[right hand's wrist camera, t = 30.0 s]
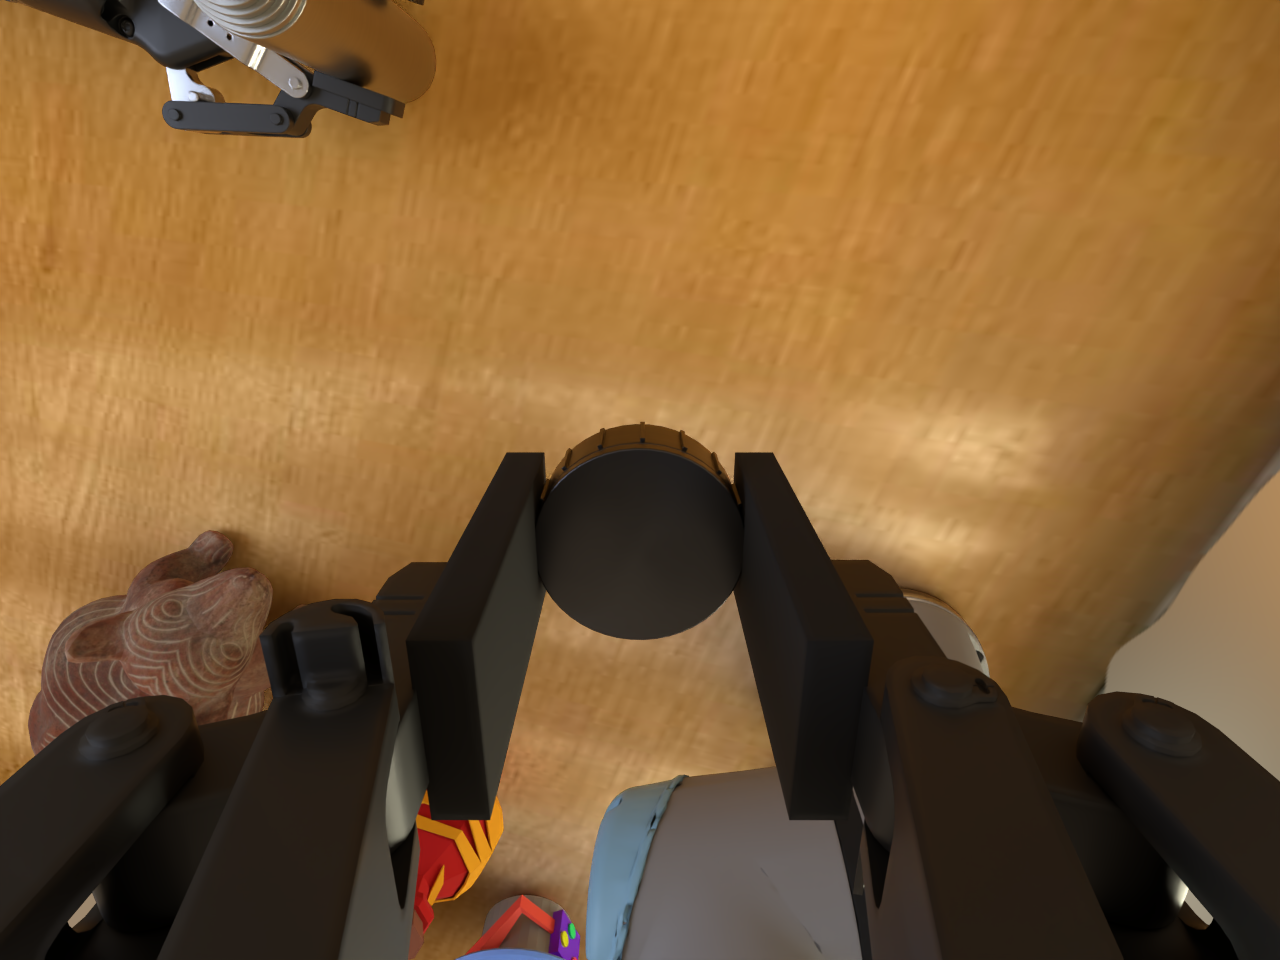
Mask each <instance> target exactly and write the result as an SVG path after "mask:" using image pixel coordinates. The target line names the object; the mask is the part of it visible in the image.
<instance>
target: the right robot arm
mask: <svg viewBox="0 0 1280 960" xmlns="http://www.w3.org/2000/svg"><path fill="white" fill-rule="evenodd" d="M545 482H546V475H545V456H544V453H506V455H505V457H504V459H503V461H502V462H501V464H500V466H499V468H498V470H497V472H496V474H495V475H494V477H493V479H492V481H491V483H490V485H489V487H488V488H487V490H486V492H485V494H484V496H483V498H482V499H481V501H480V503H479V505H478V507H477V509H476V511H475V512H474V514H473V516H472V518H471V520H470V522H469V524H468V525H467V527H466V529H465V531H464V533H463V535H462V537H461V538H460V540H459V542H458V544H457V546H456V548H455V550H454V551H453V553H452V555H451V557H450V559H449V561H448V562H411V563H410V564H409V565H407V566H406V567H404V568H403V569H401V570H400V571H398V572H397V573H395V574H394V575H392V576H391V577H389V578H388V580H387V581H386V582H385V584H384V585H383V587H382V588H381V590H380V591H379V593H378V594H377V596H376V600H373V602H372V603H370V602H366V601H362V600H358V599H332V600H327V601H322V602H316V603H311V604H308V605H306V606H303V607H300V608H298V609H295V610H292V611H289V612H288V613H286V614H284V615H283V616H281V617H279V618H278V619H276V620H275V621H273V622H271V623H270V624H269V625H268V626H267V628H266V629H265V630H264V631H263V632H262V633H261V634H260V635H259V638H260V643H261V647H262V651H263V655H264V660H265V664H266V668H267V673H268V677H269V681H270V685H271V690H272V694H273V699H272V702H271V704H270V706H269V708H268V710H266V711H262V712H258V713H255V714H251V715H247V716H242V717H237V718H232V719H228V720H223V721H218V722H213V723H208V724H204V725H199V726H198V725H197V722H196V718H195V715H194V711H193V708H192V706H190V705H189V704H188V703H187V702H186V701H185V700H184V699H182V698H178V697H173V696H168V695H155V696H144V697H137V698H132V699H128V700H127V701H121V702H117V703H114V704H111V705H109V706H107V707H106V708H104V709H101V710H99V711H97V712H95V713H93V714H91V715H88V716H86V717H84V718H83V719H81V720H80V721H78V722H77V723H76V724H74V725H73V726H71V727H70V728H68V729H67V730H65V731H64V732H63V733H61V734H60V735H59V736H58V737H57V738H55V739H54V740H53V741H52V742H51V743H50V744H48V745H47V746H46V747H45V748H44V749H43V750H41V751H40V752H39V753H38V754H37V755H36V756H34V757H33V758H32V759H31V760H30V761H29V762H27V763H26V764H25V765H24V766H23V767H22V768H20V769H19V770H18V771H17V772H16V773H15V774H14V775H12V776H11V777H10V778H9V779H8V780H7V781H5V782H4V783H3V784H2V785H1V786H0V960H408V954H409V945H410V936H411V927H412V918H413V909H414V900H415V891H416V882H417V873H418V864H419V856H420V845H419V837H418V831H417V824H416V817H417V814H418V812H419V809H420V806H421V803H422V801H423V798H424V795H425V792H426V790H427V794H428V800H429V807H430V814H431V820H490V819H491V815H492V811H493V807H494V803H495V799H496V794H497V790H498V786H499V782H500V778H501V774H502V770H503V766H504V762H505V757H506V753H507V749H508V745H509V741H510V737H511V733H512V729H513V725H514V720H515V716H516V712H517V708H518V704H519V700H520V696H521V692H522V687H523V683H524V679H525V675H526V671H527V667H528V663H529V659H530V655H531V650H532V646H533V642H534V638H535V634H536V630H537V626H538V622H539V618H540V613H541V609H542V605H543V601H544V597H545V593H546V589H545V587H544V585H543V583H542V581H541V579H540V577H539V574H538V568H537V552H536V536H535V523H536V519H537V515H538V512H539V509H540V506H541V503H540V502H539V499H540V497H541V494H542V491H543V488H544V485H545ZM734 483H735V486H736V489H737V492H738V495H739V497H740V500H741V503H742V507H741V508H740V511H741V514H742V517H743V520H744V545H743V561H742V573H741V576H740V578H739V581H738V583H737V584H736V586H735V588H734V590H733V591H734V595H735V599H736V603H737V607H738V611H739V615H740V619H741V623H742V628H743V632H744V636H745V640H746V644H747V648H748V652H749V656H750V661H751V665H752V669H753V673H754V677H755V681H756V685H757V689H758V693H759V698H760V702H761V706H762V710H763V714H764V718H765V722H766V726H767V730H768V735H769V739H770V743H771V747H772V751H773V755H774V759H775V763H776V766H775V767H768V768H760V769H753V770H745V771H737V772H728V773H719V774H710V775H701V776H692V777H689V776H687V775H679V776H677V777H675V778H674V779H672V780H668V781H663V782H659V783H654V784H648V785H642V786H636V787H632V788H629V789H627V790H625V791H623V792H621V793H620V794H619V795H617V796H616V797H615V799H614V800H613V801H612V802H611V804H610V805H609V806H608V808H607V810H606V813H605V815H604V818H603V819H602V822H601V824H600V828H599V831H598V835H597V839H596V843H595V848H594V853H593V859H592V865H591V872H590V880H589V890H588V902H587V919H586V956H587V959H588V960H1280V781H1278V780H1277V779H1276V778H1275V777H1274V776H1273V775H1271V774H1270V773H1269V772H1268V771H1267V770H1266V769H1264V768H1263V767H1262V766H1261V765H1260V764H1259V763H1257V762H1256V761H1255V760H1254V759H1253V758H1251V757H1250V756H1249V755H1248V754H1247V753H1246V752H1245V751H1243V750H1242V749H1241V748H1240V747H1239V746H1237V745H1236V744H1235V743H1234V742H1233V741H1232V740H1230V739H1229V738H1228V737H1227V736H1226V735H1225V734H1223V733H1222V732H1221V731H1220V730H1219V729H1217V728H1216V727H1214V726H1213V725H1211V724H1210V723H1208V722H1207V721H1206V720H1204V719H1203V718H1201V717H1200V716H1198V715H1197V714H1195V713H1193V712H1191V711H1188V710H1186V709H1184V708H1182V707H1180V706H1178V705H1175V704H1174V703H1172V702H1170V701H1167V700H1164V699H1161V698H1154V696H1149V695H1144V694H1138V693H1127V692H1112V693H1107V694H1101V695H1098V696H1097V697H1095V698H1094V699H1093V700H1092V701H1091V702H1090V703H1088V706H1087V709H1086V713H1085V716H1084V720H1083V723H1082V722H1077V721H1072V720H1067V719H1062V718H1057V717H1053V716H1048V715H1043V714H1038V713H1033V712H1029V711H1025V710H1022V709H1018V708H1014V707H1011V705H1010V703H1009V700H1008V698H1007V696H1006V695H1005V694H1004V692H1003V691H1002V690H1001V688H1000V687H999V686H998V684H997V683H996V682H995V681H993V680H992V679H991V678H989V669H988V665H987V660H986V657H985V654H984V652H983V649H982V647H981V644H980V642H979V640H978V639H977V637H976V635H975V634H974V633H973V631H972V630H971V629H970V627H969V626H968V625H967V623H966V622H965V621H964V620H963V618H962V617H961V616H960V615H959V614H958V613H957V612H956V611H955V610H954V609H953V608H951V607H950V606H949V605H947V604H946V603H944V602H943V601H941V600H939V599H937V598H935V597H933V596H931V595H928V594H926V593H923V592H919V591H915V590H911V589H904V588H899V586H898V585H897V583H896V582H895V580H894V579H893V577H892V576H891V575H890V574H888V573H887V572H885V571H884V570H882V569H881V568H879V567H878V566H876V565H875V564H873V563H872V562H870V561H869V560H830V558H829V556H828V554H827V552H826V550H825V549H824V547H823V545H822V543H821V541H820V539H819V538H818V536H817V534H816V532H815V530H814V528H813V526H812V525H811V523H810V521H809V519H808V517H807V515H806V513H805V512H804V510H803V508H802V506H801V504H800V502H799V500H798V499H797V497H796V495H795V493H794V491H793V489H792V487H791V486H790V484H789V482H788V480H787V478H786V476H785V474H784V473H783V471H782V469H781V467H780V465H779V463H778V461H777V460H776V458H775V456H774V454H773V453H735V466H734ZM1188 889H1189V890H1190V891H1191V892H1192V893H1193V894H1194V896H1195V897H1196V898H1197V899H1198V900H1199V901H1200V903H1201V904H1202V905H1203V906H1204V907H1205V908H1206V910H1207V911H1208V912H1209V913H1210V914H1211V915H1212V917H1213V920H1212V923H1211V924H1210V925H1207V924H1206V923H1205V922H1204V921H1202V920H1201V919H1200V918H1199V917H1198V916H1197V915H1196V914H1195V913H1194V911H1193V910H1192V909H1191V908H1190V907H1189V905H1188V904H1187V903H1186V902H1185V901H1184V899H1185V897H1186V894H1187V892H1188ZM91 893H93V896H94V898H95V901H96V904H95V905H94V907H93V908H92V909H91V910H90V911H89V913H88V914H87V915H86V916H85V917H84V918H83V919H82V920H81V921H80V922H79V923H77V924H76V925H75V926H74V927H73V928H71V927H70V926H69V924H68V922H67V921H68V920H69V919H70V918H71V917H72V915H73V914H74V913H75V912H76V911H77V910H78V908H79V907H80V906H81V905H82V904H83V903H84V901H85V900H86V899H87V898H88V897H89V895H90V894H91Z"/></svg>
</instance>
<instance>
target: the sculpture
mask: <svg viewBox="0 0 1280 960" xmlns="http://www.w3.org/2000/svg"><path fill="white" fill-rule="evenodd" d="M232 553H233V545H232V542H231V541H230V540H229V539H228V538H227V537H226V536H224V535H223V534H221V533H219V532H217V531H210V530H209V531H207V532H204V533H202V534H201V535H199V536H198V538H197V539H196V540H195V541H194V542H193V543H192V544H191V545H190V547H189V548H187V549H184V550H181V551H178V552H175V553H172V554H170V555H167V556H165V557H162V558H160V559H158V560H156V561H154V562H152V563H150V564H149V565H148V566H146V567H145V568H144V569H143V570H141V571H140V572H139V574H138V575H137V576H136V577H135V578H134V580H133V582H132V584H131V586H130V588H129V590H128V593H127V595H118V596H112V597H107V598H102V599H99V600H96V601H93V602H91V603H89V604H87V605H85V606H83V607H81V608H79V609H78V610H76V611H74V612H73V613H72V614H71V615H69V616H68V617H67V618H66V619H65V620H64V621H63V622H62V623H61V624H60V626H59V627H58V628H57V630H56V631H55V632H54V634H53V635H52V638H51V640H50V642H49V645H48V648H47V651H46V655H45V658H44V662H43V667H42V678H41V691H40V692H39V693H38V695H37V696H36V698H35V700H34V702H33V705H32V707H31V710H30V715H29V721H28V728H29V734H30V740H31V745H32V749H33V751H34V754H35V756H36V755H37V754H38V753H39V752H40V751H41V750H43V749H44V748H45V747H46V746H47V745H48V744H50V743H51V742H52V741H53V740H54V739H55V738H57V737H58V736H59V735H60V734H61V733H63V732H64V731H65V730H67V729H68V728H70V727H71V726H73V725H74V724H76V723H77V722H78V721H80V720H81V719H83V718H84V717H86V716H88V715H91V714H93V713H95V712H97V711H99V710H101V709H104V708H106V707H107V706H109V705H111V704H114V703H117V702H121V701H127V700H128V699H132V698H137V697H144V696H155V695H168V696H173V697H178V698H182V699H184V700H185V701H186V702H187V703H188V704H189V705H190V706H192V708H193V711H194V715H195V718H196V722H197V725H198V726H199V725H204V724H208V723H213V722H218V721H223V720H228V719H232V718H237V717H242V716H247V715H251V714H255V713H258V712H262V709H263V706H264V690H265V689H268V688H270V687H271V685H270V681H269V677H268V673H267V668H266V664H265V660H264V655H263V651H262V647H261V643H260V638H259V635H260V634H261V633H262V632H263V631H264V630H263V627H264V625H265V623H266V620H267V617H268V614H269V611H270V608H271V603H272V597H273V588H272V585H271V583H270V581H269V580H268V579H267V578H266V576H265V575H264V574H261V573H260V572H258V571H257V570H256V569H253V568H234V569H231V570H227V571H224V572H221V573H219V572H220V570H221V569H222V568H223V567H224V566H225V565H226V563H227V562H228V560H229V559H230V557H231V555H232ZM218 573H219V574H218ZM303 606H306V605H303V604H301V605H299V606H297V607H296V608H294V609H293V610H295V609H298V608H300V607H303Z"/></svg>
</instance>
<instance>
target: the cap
mask: <svg viewBox="0 0 1280 960" xmlns="http://www.w3.org/2000/svg"><path fill="white" fill-rule="evenodd" d="M539 502H540V503H541V506H540V509H539V512H538V515H537V519H536V523H535V536H536V552H537V568H538V574H539V577H540V579H541V581H542V583H543V585H544V587H545V589H546V590H547V592H548V593H549V595H550V596H551V598H552V599H553V600H554V602H555V603H556V604H557V605H558V606H559V607H560V608H561V609H562V610H563V611H564V612H565V613H566V614H568V615H569V616H570V617H571V618H573V619H574V620H576V621H577V622H579V623H580V624H582V625H584V626H586V627H588V628H590V629H591V630H594V631H596V632H599V633H602V634H604V635H608V636H612V637H616V638H623V639H630V640H648V639H658V638H663V637H668V636H671V635H675V634H678V633H681V632H683V631H686V630H688V629H690V628H692V627H694V626H696V625H697V624H699V623H701V622H702V621H704V620H706V619H707V618H708V617H709V616H711V615H712V614H713V613H714V612H716V611H717V610H718V609H719V608H720V606H721V605H722V604H723V603H724V602H725V601H726V600H727V598H728V597H729V596H730V594H731V593H732V591H733V590H734V588H735V586H736V584H737V583H738V581H739V578H740V576H741V573H742V561H743V545H744V520H743V517H742V514H741V511H740V508H741V507H742V503H741V500H740V497H739V495H738V492H737V489H736V486H735V483H734V484H731V482H730V479H729V477H728V475H727V473H726V471H725V470H724V468H723V467H722V465H721V464H720V463H719V461H718V458H717V455H716V453H715V452H713V453H711V452H710V451H709V450H708V449H706V448H705V447H704V446H703V445H701V444H700V443H699V442H697V441H696V440H694V439H692V438H691V437H689V436H687V435H685V432H684V431H682V430H680V432H678V431H676V430H672V429H669V428H665V427H662V426H655V425H645V422H640V424H633V425H623V426H619V427H614V428H610V429H607V430H605V429H604V428H602V429H600V432H599V433H597V434H595V435H593V436H591V437H589V438H587V439H585V440H584V441H582V442H581V443H580V444H578V445H577V446H575V447H574V448H573V449H572V450H571V449H570V448H569V449H568V450H567V451H566V455H565V457H564V458H563V459H562V461H561V462H560V463H559V464H558V466H557V467H556V469H555V471H554V472H553V474H552V476H551V478H550V480H549V479H547V480H546V482H545V485H544V488H543V491H542V494H541V497H540V499H539Z"/></svg>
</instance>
